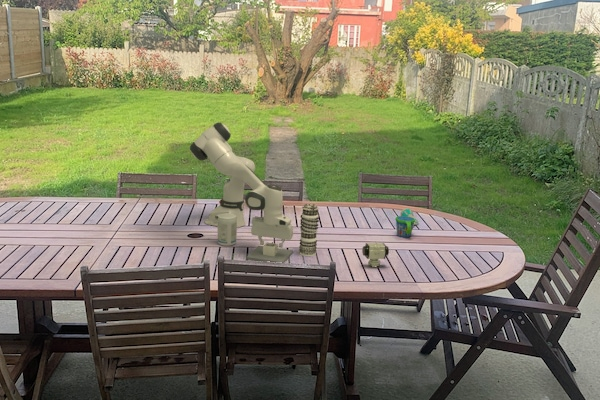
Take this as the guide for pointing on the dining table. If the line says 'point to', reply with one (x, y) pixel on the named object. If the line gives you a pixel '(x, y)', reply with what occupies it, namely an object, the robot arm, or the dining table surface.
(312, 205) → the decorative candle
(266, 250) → the cream open box
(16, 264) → the dining table surface
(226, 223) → the supplement tub
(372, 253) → the pneumatic valve
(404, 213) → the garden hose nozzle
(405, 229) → the snack cup
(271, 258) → the grey square panel
